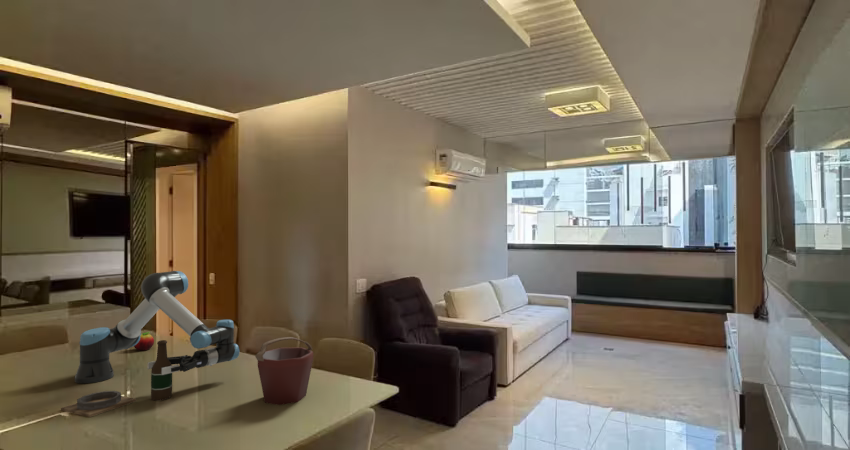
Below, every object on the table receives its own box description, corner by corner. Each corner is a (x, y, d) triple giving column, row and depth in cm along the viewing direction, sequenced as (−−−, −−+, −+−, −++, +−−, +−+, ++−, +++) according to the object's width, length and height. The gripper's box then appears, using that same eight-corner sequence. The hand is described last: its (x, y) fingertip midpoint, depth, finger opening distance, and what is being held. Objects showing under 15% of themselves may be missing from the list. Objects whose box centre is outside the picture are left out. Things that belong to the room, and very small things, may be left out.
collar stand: (60, 410, 180) (60, 401, 180) (107, 395, 197) (107, 387, 197) (90, 417, 173) (90, 407, 173) (136, 401, 190) (136, 392, 190)
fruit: (128, 351, 272) (129, 334, 273) (142, 347, 283) (143, 330, 283) (144, 352, 271) (144, 335, 271) (158, 347, 281) (158, 331, 282)
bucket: (257, 411, 179) (257, 346, 179) (250, 394, 198) (250, 336, 199) (319, 400, 190) (319, 340, 190) (307, 385, 209) (307, 330, 210)
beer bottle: (162, 401, 189) (163, 343, 190) (146, 400, 191) (147, 342, 192) (176, 395, 197) (176, 339, 198) (160, 393, 199) (161, 338, 199)
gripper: (218, 370, 201) (168, 383, 184) (191, 361, 216) (142, 372, 199) (219, 353, 201) (168, 364, 184) (191, 345, 217) (142, 354, 200)
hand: (154, 368), depth 192 cm, fingers open, 13 cm apart
